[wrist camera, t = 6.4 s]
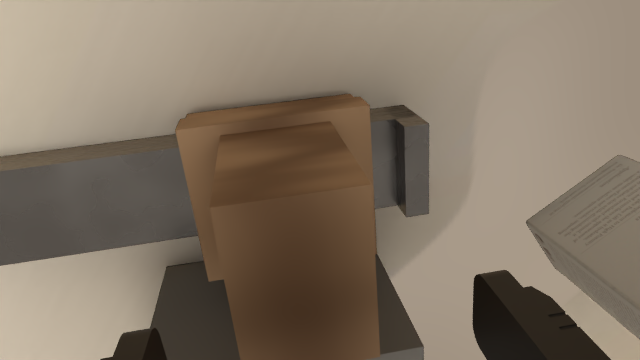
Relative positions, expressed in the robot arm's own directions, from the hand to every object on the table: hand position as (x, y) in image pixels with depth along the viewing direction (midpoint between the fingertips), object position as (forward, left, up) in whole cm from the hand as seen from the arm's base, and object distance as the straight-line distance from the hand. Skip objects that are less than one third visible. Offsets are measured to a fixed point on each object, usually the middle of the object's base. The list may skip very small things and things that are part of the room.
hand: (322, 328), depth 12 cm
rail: (+4, 0, -11) cm, 12 cm away
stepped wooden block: (0, 0, -10) cm, 11 cm away
